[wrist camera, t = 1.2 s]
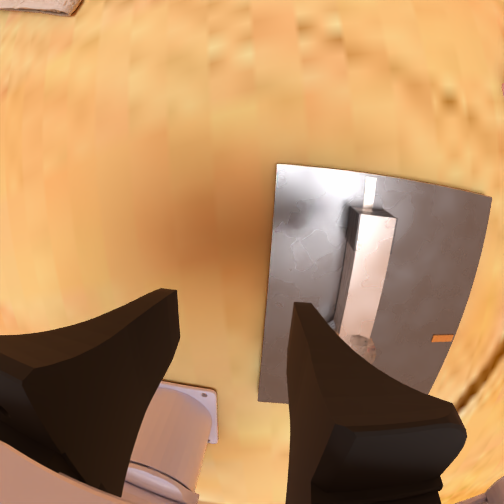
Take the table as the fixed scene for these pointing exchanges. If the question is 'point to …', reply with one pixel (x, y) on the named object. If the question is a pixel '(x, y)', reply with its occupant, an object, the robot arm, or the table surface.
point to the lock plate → (397, 275)
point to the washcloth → (42, 6)
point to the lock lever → (363, 277)
